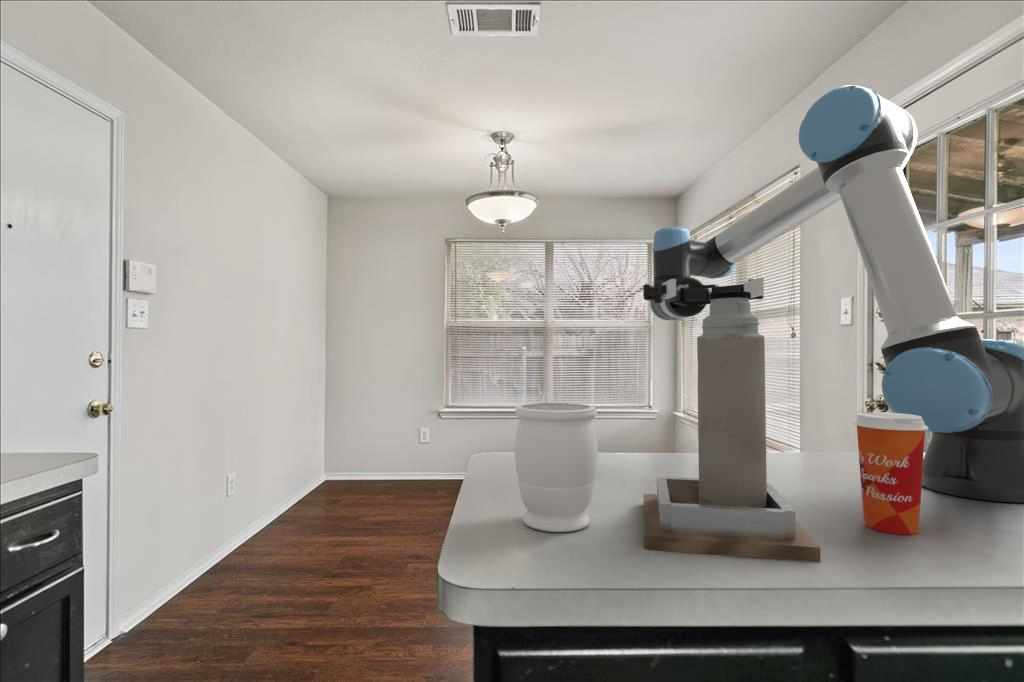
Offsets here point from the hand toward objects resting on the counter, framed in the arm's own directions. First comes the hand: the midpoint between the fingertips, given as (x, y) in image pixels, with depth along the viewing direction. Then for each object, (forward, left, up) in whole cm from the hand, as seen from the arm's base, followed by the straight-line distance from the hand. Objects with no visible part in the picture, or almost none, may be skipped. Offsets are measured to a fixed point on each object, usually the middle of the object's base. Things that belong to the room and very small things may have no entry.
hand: (717, 287), depth 88 cm
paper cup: (-18, +15, -32) cm, 40 cm away
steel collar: (+3, +20, -30) cm, 36 cm away
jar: (+23, +22, -32) cm, 45 cm away
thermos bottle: (+1, +18, -31) cm, 36 cm away
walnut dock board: (+3, +20, -32) cm, 38 cm away
